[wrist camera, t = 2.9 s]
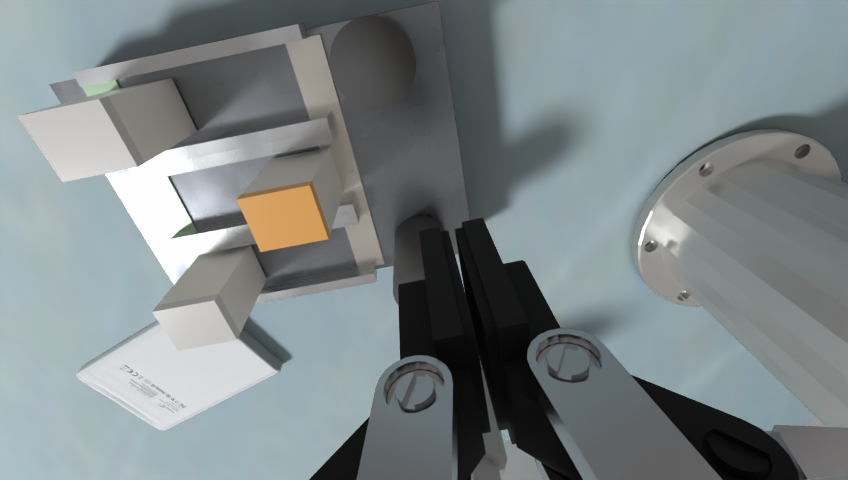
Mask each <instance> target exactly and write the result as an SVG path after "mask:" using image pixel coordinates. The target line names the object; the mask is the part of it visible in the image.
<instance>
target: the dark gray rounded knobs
mask: <svg viewBox="0 0 848 480" xmlns="http://www.w3.org/2000/svg"><path fill="white" fill-rule="evenodd" d="M329 63H330V70H331V75H332V78H333V80H334V82H335V84H336V86H337V88H338V89H339V91H340V92H341V93H342V94H343V96H345V97H346V98H347V99H348V100H349V101H350V102H352V103H354V104H355V105H357V106H360V107H362V108H366V109H372V110H379V109H385V108H388V107H391V106H393V105H395V104H396V103H398V102H399V101H400V100H402V99H403V98H404V97H405V96H406V94H407V93H408V92H409V90H410V88H411V86H412V84H413V81H414V78H415V73H416V57H415V53H414V49H413V47H412V44H411V41H410V39H409V36H408V34H407V32H406V31H405V29H404V28H403V27H402V26H401V25H400V24H399V23H398V22H397V21H395V20H394V19H392V18H390V17H387V16H383V15H371V16H364V17H360V18H356V19H354V20H352V21H350V22H349V23H347V24H346V25H345V26H344V27H343V28H341V30H340V31H339V32H338V33H337V35H336V37H335V38H334V41H333V43H332V46H331V50H330V58H329ZM434 227H439V228H440V232H442V231H445V230H444V228H443V226H442V225H441V224H440V223H439V222H438V221H437V220H435V219H433V218H431V217H428V216H413V217H410V218H408V219H406V220H404V221H403V222H402V223H401V224H400V225H399V226H398V228H397V229H396V232H395V236H394V274H393V294H394V298H395V300H396V302H397V304H398V305H399V297H398V285H399V284H403V283H408V282H413V281H418V280H423V279H425V275H424V267H423V259H422V251H421V244H420V236H419V230H424V229H429V228H434Z"/></svg>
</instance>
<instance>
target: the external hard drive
mask: <svg viewBox="0 0 848 480" xmlns="http://www.w3.org/2000/svg"><path fill="white" fill-rule="evenodd" d="M282 364H283V363H282V362H281V361H280V360H279V359H278V358H276V357H275V356H274V355H273V354H272V353H271V352H269V351H268V350H267V349H266V348H265V347H264V346H263V345H261V344H260V343H259V342H258V341H257V340H256V339H254V338H253V337H252V336H251V335H250V334H249V333H248V332H246V331H245V330H244V329H242V331H241V333H240V335H239V337H238V339H237V340H235V341H229V342H223V343H218V344H212V345H207V346H201V347H196V348H190V349H185V350H179V351H178V349H177V348H176V347H175V345H174V344H173V342H172V341H171V339H170V338H169V336H168V335H167V333H166V332H165V330H164V329H163V328H162V326H161V325H160V323H159V322H158V320H157V321H156V322H154V323H152V324H151V325H149V326H148V327H146V328H144V329H143V330H141V331H139V332H138V333H136V334H134V335H133V336H131V337H130V338H128V339H126V340H125V341H123V342H121V343H120V344H118V345H116V346H115V347H113V348H112V349H110V350H108V351H107V352H105V353H103V354H102V355H100V356H98V357H97V358H95V359H94V360H92V361H90V362H89V363H87V364H85V365H84V366H82V367H81V369H80V370H79V371H78V372H77V373H76V376H77V377H78V378H79V379H80V380H81V381H83V382H84V383H86V384H87V385H89V386H90V387H92V388H94V389H95V390H97V391H98V392H100V393H102V394H103V395H105V396H107V397H108V398H110V399H111V400H113V401H115V402H116V403H118V404H119V405H121V406H122V407H124V408H126V409H127V410H129V411H130V412H132V413H133V414H135V415H136V416H138V417H140V418H141V419H143V420H144V421H146V422H148V423H149V424H151V425H152V426H154V427H156V428H157V429H159V430H167V429H169V428H171V427H173V426H175V425H176V424H178V423H180V422H182V421H184V420H186V419H188V418H190V417H192V416H194V415H196V414H198V413H200V412H202V411H204V410H206V409H208V408H210V407H212V406H214V405H216V404H218V403H219V402H221V401H223V400H225V399H227V398H229V397H231V396H233V395H235V394H237V393H239V392H241V391H243V390H245V389H247V388H249V387H251V386H253V385H255V384H257V383H258V382H260V381H262V380H264V379H266V378H268V377H270V376H272V375H274V374H276V373H278V372H279V371H280V370H281V367H282Z"/></svg>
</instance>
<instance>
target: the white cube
mask: <svg viewBox="0 0 848 480" xmlns="http://www.w3.org/2000/svg"><path fill="white" fill-rule="evenodd" d="M504 447H505V451H506V455H507V463H506V468H505V472H504V475H503V476H502V477H501V480H543V479H542V477H541V475H540V473H539V471H538V469H537V466H536V463H535V459H534V457H532V456H530V455H529V454H527V453H525V452H524V451H522V450H520V449H519V448H517V446H516V444H513V445H512V443H511V440H510V441H508V442H505V443H504Z"/></svg>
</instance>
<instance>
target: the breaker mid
mask: <svg viewBox="0 0 848 480" xmlns="http://www.w3.org/2000/svg"><path fill="white" fill-rule="evenodd" d="M342 194H343V190H342V187H341V184H340V180H339V177H338V174H337V171H336V168H335V164H334V161H333V158H332V155H331V151H330V148H329V147H328V148H323V149H318V150H313V151H308V152H303V153H298V154H293V155H288V156H283V157H278V158H273V159H271V160H270V161H269V163H268V164H267V165H266V166H265V167H264V168H263V170H262V171H261V172H260V173H259V174H258V175H257V177H256V178H255V179H254V180H253V181H252V182H251V183H250V185H249V186H248V187H247V188H246V189H245V190H244V192H243V193H242V194H241V195H240V196H239V197H238V198H237V202H238V204H239V206H240V208H241V211H242V213H243V215H244V217H245V219H246V221H247V224H248V226H249V228H250V230H251V232H252V234H253V237H254V239H255V241H256V243H257V245H258V247H259V250H260V252H264V251H269V250H274V249H279V248H285V247H290V246H295V245H300V244H306V243H311V242H316V241H322V240H327V239H329V236H330V233H331V230H332V227H333V223H334V220H335V217H336V214H337V210H338V207H339V204H340V201H341V198H342Z"/></svg>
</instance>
